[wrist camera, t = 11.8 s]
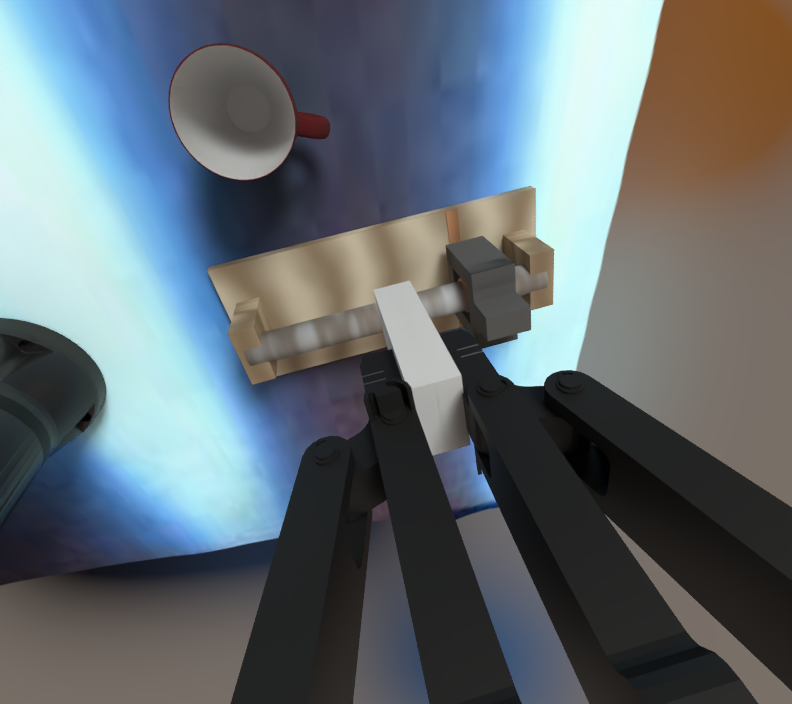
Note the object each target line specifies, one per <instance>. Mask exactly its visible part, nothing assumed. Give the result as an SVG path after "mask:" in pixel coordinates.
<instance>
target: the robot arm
mask: <svg viewBox="0 0 792 704" xmlns="http://www.w3.org/2000/svg"><path fill="white" fill-rule="evenodd" d="M373 291H374V295H375V299H376V304H377V308H378V312H379V316H380V320H381V324H382V328H383V332H384V337H385V341H386V345H387V348H388V350H386V351H382V352H378V353H375V354H371V355H367V356H364V358H363V360H362V363H361V365H360V368H361V373H362V378H363V383H364V387H365V392H366V393H365V394H364V403H365V406H366V409H367V413H368V416H369V422H368V424H367V425H366V427H365V428H364V429H363V430H362V431H361V432H360V433H358V434H357V435H355V436H354V437H352V438H350V439H348V440H346V439H344V438H341V437H339V436H328V437H324V438H321V439H319V440H317V441H315V442H314V443H312V444H311V445H310V446H309V447H308V448H307V449H306V451H305V453H304V455H303V456H302V460H301V463H300V467H299V470H298V474H297V477H296V480H295V484H294V487H293V491H292V494H291V498H290V501H289V505H288V508H287V511H286V515H285V518H284V522H283V525H282V529H281V532H280V536H279V539H278V542H277V546H276V549H275V553H274V557H273V560H272V563H271V567H270V570H269V573H268V578H267V580H266V584H265V588H264V591H263V594H262V598H261V601H260V605H259V608H258V611H257V615H256V618H255V622H254V625H253V629H252V632H251V636H250V639H249V643H248V646H247V649H246V653H245V657H244V660H243V663H242V667H241V670H240V673H239V677H238V681H237V684H236V687H235V691H234V694H233V698H232V701H231V704H353V696H354V687H355V677H356V667H357V658H358V648H359V638H360V629H361V619H362V608H363V599H364V590H365V579H366V570H367V561H368V551H369V541H370V532H371V522H372V509H373V508H374V507H376V506H377V505H379V504H381V503H382V502H384V501H385V500H387V503H388V508H389V513H390V518H391V522H392V527H393V532H394V536H395V541H396V545H397V551H398V556H399V560H400V565H401V570H402V574H403V579H404V584H405V588H406V594H407V598H408V603H409V608H410V613H411V617H412V622H413V627H414V632H415V637H416V641H417V646H418V651H419V655H420V660H421V665H422V670H423V675H424V679H425V684H426V689H427V693H428V698H429V703H430V704H522V703H521V701H520V699H519V696H518V694H517V691H516V689H515V686H514V683H513V680H512V678H511V675H510V672H509V669H508V666H507V664H506V661H505V658H504V655H503V652H502V649H501V647H500V644H499V641H498V638H497V635H496V633H495V630H494V627H493V624H492V622H491V619H490V616H489V613H488V610H487V607H486V605H485V602H484V599H483V597H482V593H481V591H480V588H479V585H478V582H477V580H476V577H475V574H474V571H473V568H472V566H471V563H470V560H469V557H468V554H467V551H466V548H465V546H464V543H463V540H462V537H461V534H460V532H459V529H458V526H457V523H456V520H455V518H454V515H453V512H452V509H451V506H450V504H449V501H448V498H447V495H446V492H445V490H444V487H443V484H442V481H441V478H440V475H439V473H438V470H437V467H436V464H435V461H434V459H433V455H436V454H440V453H443V452H447V451H450V450H454V449H457V448H461V447H464V446H468V445H470V438H469V435H470V437H471V439H472V441H473V443H474V447H475V455H476V463H477V471H478V475H480V474H482V472H483V474H484V476H485V478H486V480H487V482H488V485H489V487H490V489H491V491H492V493H493V495H494V498H495V500H496V502H497V504H498V506H499V508H500V510H501V513H502V515H503V517H504V519H505V521H506V523H507V526H508V528H509V530H510V532H511V534H512V537H513V539H514V541H515V543H516V545H517V547H518V550H519V552H520V554H521V556H522V558H523V560H524V563H525V565H526V567H527V569H528V571H529V573H530V576H531V578H532V580H533V582H534V584H535V586H536V588H537V591H538V593H539V595H540V597H541V600H542V601H543V604H544V606H545V608H546V610H547V613H548V615H549V617H550V619H551V621H552V623H553V626H554V628H555V630H556V632H557V634H558V636H559V638H560V640H561V643H562V645H563V647H564V649H565V652H566V654H567V656H568V658H569V660H570V662H571V664H572V666H573V669H574V671H575V673H576V675H577V677H578V680H579V682H580V684H581V686H582V688H583V691H584V693H585V695H586V697H587V699H588V701H589V703H590V704H758V703H757V702H756V700H755V699H754V697H753V696H752V695H751V693H750V692H749V690H748V689H747V688H746V687H745V685H744V684H743V682H742V681H741V680H740V678H739V677H738V676H737V675H736V674H735V672H734V671H733V670H732V669H731V667H730V666H729V665H728V664H727V663H726V662H725V661H724V660H723V659H722V658H721V657H719V656H718V655H717V654H716V653H715V652H713V651H710V650H708V649H706V648H704V647H701V646H699V645H698V644H697V643H696V642H695V641H694V640H693V639H692V638H691V637H690V636H689V634H688V633H687V632H686V630H685V629H684V628H683V626H682V625H681V623H680V622H679V621H678V619H677V617H676V616H675V615H674V613H673V612H672V610H671V609H670V607H669V606H668V605H667V603H666V602H665V600H664V599H663V597H662V596H661V595H660V593H659V592H658V590H657V589H656V587H655V586H654V584H653V583H652V582H651V580H650V579H649V577H648V576H647V574H646V573H645V572H644V570H643V569H642V567H641V566H640V565H639V563H638V561H637V560H636V559H635V557H634V556H633V554H632V553H631V551H630V550H629V549H628V547H627V546H626V544H625V543H624V542H623V540H622V539H621V537H620V536H619V534H618V533H617V531H616V530H615V528H614V527H613V526H612V524H611V523H610V521H609V520H608V519H607V517H606V516H605V515H607V516H608V517H609V518H610V519H611V520H612V521H613V522H614V523H615V524H616V525H617V526H618V527H619V528H620V529H621V530H622V531H623V532H625V533H626V534H627V535H628V536H629V537H630V538H631V539H632V540H633V541H634V542H635V543H636V544H637V545H638V546H639V547H640V548H641V549H642V550H644V551H645V552H646V553H647V554H648V555H649V556H650V557H651V558H652V559H653V560H654V561H655V562H656V563H657V564H658V565H659V566H660V567H662V568H663V569H664V570H665V571H666V572H667V573H668V574H669V575H670V576H671V577H672V578H673V579H674V580H675V581H677V583H678V584H679V585H680V586H682V587H683V588H684V589H685V590H686V591H687V592H688V593H689V594H690V595H691V596H692V597H693V598H694V599H695V600H696V601H697V602H698V603H699V604H701V605H702V606H703V607H704V608H705V609H706V610H707V611H708V612H709V613H710V614H711V615H712V616H713V617H714V618H715V619H717V621H719V622H720V623H721V624H722V625H723V626H724V627H725V628H726V629H727V630H728V631H729V632H730V633H731V634H732V635H733V636H734V637H735V638H737V640H739V641H740V642H741V643H742V644H743V645H744V646H745V647H746V648H747V649H748V650H749V651H750V652H751V653H752V654H753V655H754V656H755V657H757V658H758V659H759V660H760V661H761V662H762V663H763V664H764V665H765V666H766V667H767V668H768V669H769V670H770V671H771V672H772V673H773V674H774V675H775V676H777V677H778V678H779V679H780V680H781V681H782V682H783V683H784V684H785V685H786V686H787V687H788V688H789V689H790V690H791V691H792V507H790V506H789V505H787V504H786V503H784V502H782V501H781V500H779V499H778V498H776V497H775V496H773V495H772V494H770V493H769V492H767V491H766V490H764V489H763V488H761V487H759V486H758V485H756V484H755V483H753V482H752V481H750V480H749V479H747V478H746V477H744V476H742V475H741V474H739V473H738V472H736V471H735V470H733V469H732V468H730V467H729V466H727V465H726V464H724V463H722V462H721V461H719V460H718V459H716V458H715V457H713V456H711V455H710V454H709V453H707V452H705V451H704V450H702V449H701V448H699V447H698V446H696V445H695V444H693V443H692V442H690V441H688V440H687V439H686V438H684V437H682V436H681V435H679V434H678V433H676V432H675V431H673V430H671V429H670V428H669V427H667V426H665V425H664V424H662V423H661V422H659V421H658V420H656V419H655V418H653V417H652V416H650V415H648V414H647V413H645V412H644V411H642V410H641V409H639V408H638V407H636V406H634V405H633V404H632V403H630V402H628V401H627V400H625V399H624V398H622V397H621V396H619V395H618V394H616V393H614V392H613V391H612V390H610V389H608V388H607V387H605V386H604V385H602V384H601V383H599V382H598V381H596V380H594V379H593V378H591V377H590V376H588V375H586V374H584V373H581V372H578V371H572V370H567V371H559V372H556V373H553V374H551V375H550V376H549V377H547V379H546V381H545V383H544V386H533V387H524V386H517V385H514V383H513V382H512V381H510V380H509V379H508V378H506V377H503V376H501V375H499V374H498V373H497V371H496V370H495V368H494V367H493V365H492V364H491V363H490V361H489V360H488V358H487V357H486V355H485V354H484V352H482V349H481V348H480V346H479V345H478V343H477V342H476V340H475V339H474V337H473V336H472V335H471V334H469V333H467V332H465V331H464V330H462V329H461V330H457V331H453V332H449V333H446V334H442V335H439V333H438V332H437V330H436V328H435V326H434V324H433V322H432V321H431V319H430V317H429V315H428V313H427V311H426V310H425V308H424V306H423V304H422V302H421V300H420V299H419V297H418V295H417V293H416V291H415V289H414V288H413V286H412V284H411V282H410V281H406V282H402V283H398V284H394V285H390V286H387V287H383V288H379V289H375V290H373ZM105 393H106V391H105V383H104V379H103V376H102V374H101V372H100V370H99V368H98V366H97V365H96V363H95V362H94V361H93V360H92V358H91V357H90V356H89V355H88V354H87V353H86V352H85V351H84V350H83V349H82V348H80V347H79V346H78V345H77V344H75V343H74V342H72V341H71V340H70V339H68V338H66V337H65V336H63V335H61V334H59V333H57V332H55V331H53V330H50V329H48V328H46V327H43V326H40V325H37V324H34V323H30V322H26V321H21V320H15V319H5V318H0V531H1V529H2V527H3V526H4V524H5V523H6V521H7V520H8V518H9V517H10V515H11V513H12V512H13V510H14V509H15V507H16V506H17V504H18V503H19V501H20V499H21V498H22V496H23V495H24V493H25V492H26V490H27V489H28V487H29V485H30V484H31V482H32V481H33V479H34V478H35V476H36V475H37V473H38V471H39V470H40V468H41V467H42V465H43V464H44V462H45V461H46V459H47V458H48V457H49V456H51V455H52V454H54V453H55V452H56V451H58V450H59V449H61V448H62V447H63V446H65V445H66V444H68V443H69V442H70V441H72V440H73V439H75V438H76V437H77V436H79V435H80V434H82V433H83V432H84V431H85V430H86V429H87V428H88V427H89V426H90V425H91V424H92V422H93V421H94V419H95V418H96V416H97V414H98V413H99V411H100V409H101V408H102V406H103V403H104V400H105ZM481 469H482V471H481Z"/></svg>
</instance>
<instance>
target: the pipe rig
mask: <svg viewBox="0 0 792 704" xmlns="http://www.w3.org/2000/svg"><path fill="white" fill-rule="evenodd" d="M479 236H484V237H485V238H486V239H487V240H488V241H489V242H491V243H492V244H493V245H494V246H495V247H496V248H498V249H499V250H500V251H501V252H502V253H503V254H505V255H506V256H507V257H508V258H509V259H510V260H512V261H513V262H514V263H515V279H516V292H517V293H518V294H519V295H520V296H521V297H522V298H523V299H524V300H525V301H526V302H527V303H528V304H529V305H530V306H531V310H534V309H538V308H541V307H545V306H549V305H553V273H554V249H553V248H551V247H550V246H548V245H547V244H545V243H544V242H542V241H541V240H539V239H538V238H536V188H533V187H531V186H528V187H524V188H520V189H516V190H513V191H509V192H505V193H501V194H497V195H493V196H489V197H485V198H481V199H477V200H473V201H469V202H465V203H461V204H457V205H453V206H449V207H445V208H441V209H437V210H433V211H429V212H425V213H421V214H417V215H413V216H409V217H405V218H401V219H397V220H393V221H389V222H385V223H381V224H377V225H373V226H369V227H365V228H361V229H357V230H353V231H349V232H345V233H341V234H337V235H333V236H329V237H325V238H321V239H317V240H313V241H309V242H305V243H301V244H297V245H293V246H289V247H285V248H281V249H278V250H274V251H270V252H266V253H262V254H258V255H254V256H250V257H246V258H242V259H238V260H234V261H230V262H226V263H222V264H218V265H214V266H210V267H209V269H208V273H209V275H210V277H211V280H212V282H213V284H214V286H215V288H216V290H217V292H218V294H219V297H220V299H221V301H222V303H223V305H224V307H225V309H226V311H227V313H228V316H229V318H230V320H231V324H230V328H229V331H228V336H229V338H230V340H231V342H232V344H233V346H234V348H235V350H236V352H237V354H238V356H239V358H240V360H241V362H242V364H243V366H244V369H245V371H246V373H247V375H248V377H249V379H250V381H251V383H252V385H253V384H257V383H261V382H264V381H268V380H272V379H276V376H280V375H284V374H287V373H291V372H295V371H299V370H302V369H306V368H310V367H314V366H317V365H321V364H325V363H329V362H332V361H336V360H340V359H344V358H347V357H351V356H355V355H359V354H362V353H366V352H370V351H374V350H377V349H381V348H385V347H387V345H386V341H385V337H384V332H383V328H382V324H381V320H380V316H379V312H378V308H377V304H376V299H375V295H374V291H373V290H375V289H379V288H383V287H387V286H390V285H394V284H398V283H402V282H406V281H410V282H411V284H412V286H413V288H414V289H415V291H416V293H417V295H418V297H419V299H420V300H421V302H422V304H423V306H424V308H425V310H426V311H427V313H428V315H429V317H430V319H431V321H432V322H433V324H434V326H435V328H436V330H437V332H438V333H441V332H445V331H448V330H452V329H456V328H462V327H463V325H462V324H461V322H460V321H459V319H458V318H457V316H456V315H455V313H458V312H462V311H466V312H467V313H468V312H469V303H468V294H467V285H466V284H465V283H464V281H463V280H462V279H461V278H459V279H458V281H457V282H454V283H450V277H449V269H448V262H447V254H446V246H445V245H448V244H452V243H456V242H460V241H464V240H468V239H472V238H476V237H479Z"/></svg>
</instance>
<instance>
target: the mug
mask: <svg viewBox="0 0 792 704" xmlns="http://www.w3.org/2000/svg"><path fill="white" fill-rule="evenodd" d="M169 111H170V117H171V121H172V124H173V127H174V129H175V132H176V134H177V136H178V138H179V140H180V141H181V143H182V145H183V146H184V148H185V149H186V150H187V152H188V153H189V154H190V155H191V156H192V157H193V158H194V159H195V160H196V161H197V162H198V163H199V164H200V165H202V166H203V167H204V168H206V169H207V170H209V171H211V172H212V173H214V174H216V175H219V176H221V177H224V178H227V179H231V180H237V181H250V180H256V179H260V178H263V177H265V176H268V175H269V174H271V173H273V172H274V171H276V170H277V169H278V168H279V167H280V166H281V165H282V164H283V163H284V162H285V160H286V159H287V157H288V156H289V154H290V152H291V150H292V147H293V145H294V142H295V139H296V137H297V136H301V137H306V138H313V139H325V138H326V137H328V135H329V132H330V123H329V121H328V119H327V118H325V117H322V116H319V115H315V114H310V113H303V112H297V109H296V106H295V102H294V99H293V96H292V94H291V91H290V89H289V87H288V85H287V83H286V82H285V80H284V79H283V77H282V76H281V74H280V73H279V72H278V71H277V70H276V69H275V67H274V66H273V65H272V64H270V63H269V62H268V61H267V60H266V59H264V58H263V57H262V56H260V55H258V54H257V53H255V52H253V51H251V50H249V49H246V48H244V47H241V46H237V45H232V44H223V43H219V44H211V45H206V46H203V47H201V48H198V49H196V50H195V51H193V52H191V53H190V54H189V55H188V56H186V57H185V58H184V59H183V61H182V62H181V63H180V64H179V66H178V67H177V69H176V71H175V73H174V75H173V77H172V80H171V84H170V89H169Z"/></svg>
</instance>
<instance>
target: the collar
mask: <svg viewBox="0 0 792 704" xmlns="http://www.w3.org/2000/svg"><path fill="white" fill-rule="evenodd" d="M445 246H446V254H447V262H448V269H449V277H450V283H454V282H457V281H458V279H459V278H461V279H462V280H463V281H464V283H465V284H466V285H467V294H468V303H469V312H468V313H467V312H466V311H462V312H458V313H455V315H456V316H457V318H458V319H459V321H460V322H461V324H462V325H463V327H464V328H465V330H466V331H467V333H469V334H471V335H472V336H473V337H474V339H475V340H476V342H477V343H478V345H479V346H480V348H481V349H482V348H486V347H490V346H493V345H497V344H501V343H504V342H508V341H512V340H515V339H518V337H517V333H521V332H525V331H528V330H531V306H530V305H529V304H528V303H527V302H526V301H525V300H524V299H523V298H522V297H521V296H520V295H519V294H518V293H517V292H516V279H515V263H514V262H513V261H512V260H510V259H509V258H508V257H507V256H506V255H505V254H503V253H502V252H501V251H500V250H499V249H498V248H496V247H495V246H494V245H493V244H492V243H491V242H489V241H488V240H487V239H486V238H485V237H484V236H479V237H476V238H472V239H468V240H464V241H460V242H456V243H452V244H448V245H445Z"/></svg>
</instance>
